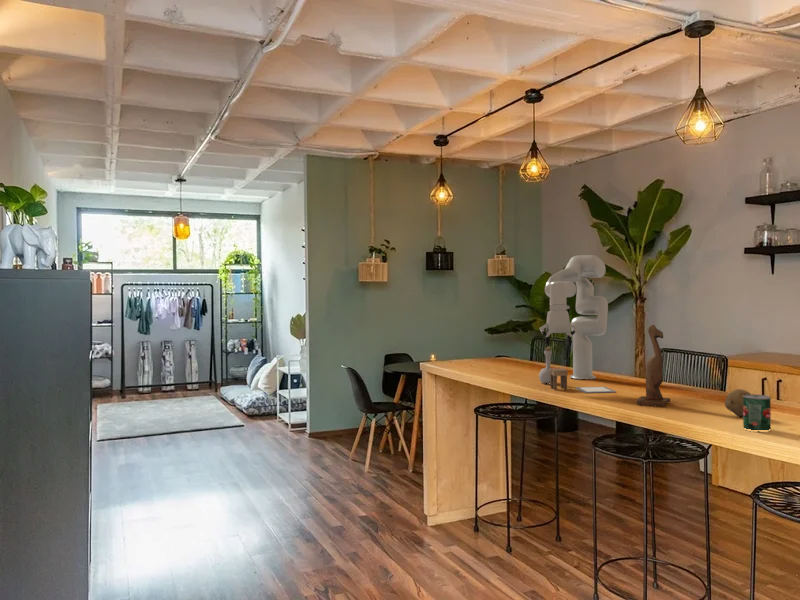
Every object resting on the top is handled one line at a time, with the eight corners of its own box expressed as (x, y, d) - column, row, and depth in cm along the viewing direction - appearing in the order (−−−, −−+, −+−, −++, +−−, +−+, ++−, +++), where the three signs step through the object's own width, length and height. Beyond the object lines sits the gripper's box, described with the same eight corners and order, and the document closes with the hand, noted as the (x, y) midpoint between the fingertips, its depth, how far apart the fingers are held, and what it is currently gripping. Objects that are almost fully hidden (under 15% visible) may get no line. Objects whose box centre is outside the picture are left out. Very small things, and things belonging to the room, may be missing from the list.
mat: (575, 388, 295) (575, 387, 295) (604, 387, 296) (604, 386, 296) (585, 393, 281) (585, 392, 281) (616, 392, 282) (616, 391, 282)
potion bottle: (559, 384, 306) (559, 347, 306) (541, 384, 306) (540, 347, 306) (555, 381, 315) (554, 345, 315) (537, 382, 315) (536, 345, 315)
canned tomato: (774, 432, 203) (774, 398, 203) (748, 432, 204) (748, 398, 204) (765, 427, 211) (765, 394, 211) (739, 426, 212) (739, 394, 212)
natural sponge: (729, 419, 224) (729, 390, 224) (721, 413, 233) (721, 386, 233) (757, 419, 223) (757, 391, 223) (748, 414, 232) (748, 387, 231)
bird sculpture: (667, 408, 246) (669, 326, 245) (635, 405, 252) (638, 324, 251) (670, 404, 256) (673, 324, 255) (640, 400, 262) (642, 323, 261)
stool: (549, 387, 297) (549, 368, 296) (563, 387, 297) (563, 368, 297) (553, 390, 290) (553, 370, 290) (567, 389, 291) (567, 370, 290)
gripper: (573, 308, 297) (574, 344, 297) (537, 308, 296) (537, 345, 296) (579, 308, 289) (579, 345, 290) (541, 308, 289) (542, 346, 289)
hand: (558, 345), depth 293 cm, fingers open, 9 cm apart
